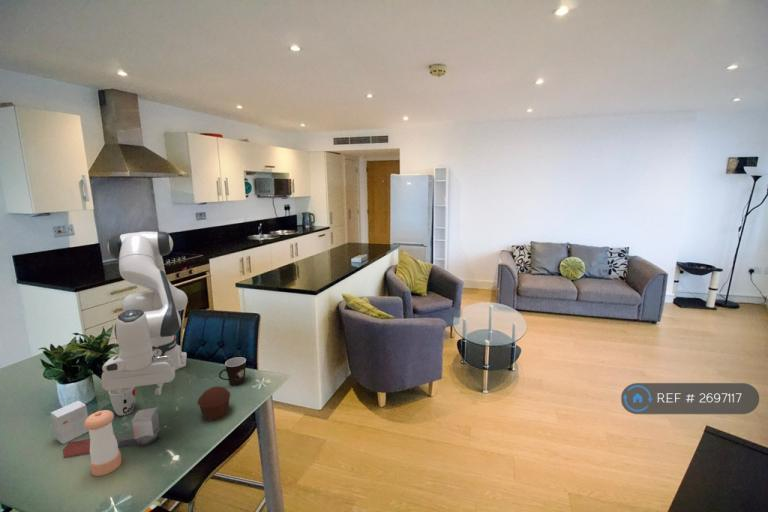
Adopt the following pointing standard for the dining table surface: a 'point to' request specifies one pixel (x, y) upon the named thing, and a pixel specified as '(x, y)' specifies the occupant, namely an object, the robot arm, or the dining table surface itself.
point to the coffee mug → (235, 371)
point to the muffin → (214, 403)
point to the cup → (122, 401)
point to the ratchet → (122, 440)
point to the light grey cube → (145, 423)
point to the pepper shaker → (102, 443)
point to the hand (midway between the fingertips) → (142, 396)
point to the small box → (69, 421)
